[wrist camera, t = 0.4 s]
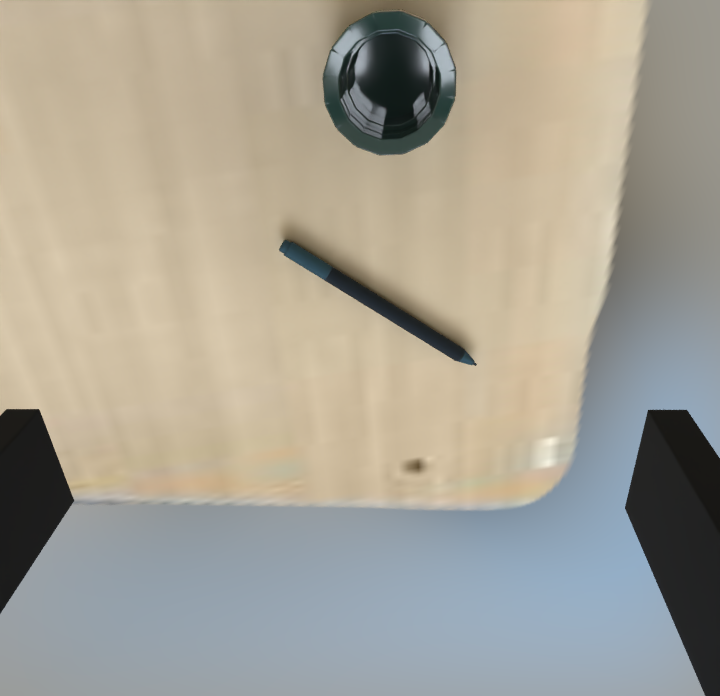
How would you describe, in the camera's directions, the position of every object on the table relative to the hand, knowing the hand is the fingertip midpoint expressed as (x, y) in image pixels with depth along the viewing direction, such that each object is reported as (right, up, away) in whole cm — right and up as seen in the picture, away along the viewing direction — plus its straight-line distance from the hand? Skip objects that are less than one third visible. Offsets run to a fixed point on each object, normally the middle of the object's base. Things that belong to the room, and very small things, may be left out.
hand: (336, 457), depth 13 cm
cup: (+2, +18, +21) cm, 27 cm away
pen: (+2, +6, +28) cm, 28 cm away
